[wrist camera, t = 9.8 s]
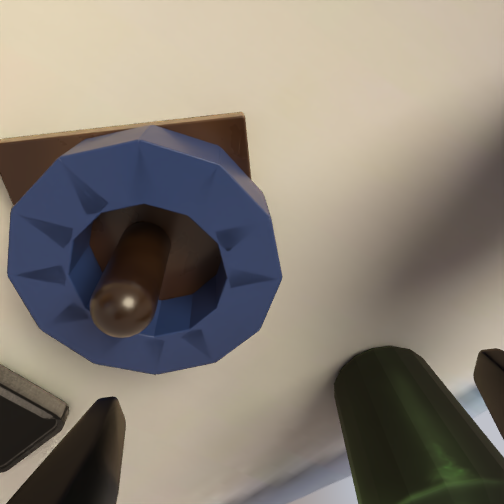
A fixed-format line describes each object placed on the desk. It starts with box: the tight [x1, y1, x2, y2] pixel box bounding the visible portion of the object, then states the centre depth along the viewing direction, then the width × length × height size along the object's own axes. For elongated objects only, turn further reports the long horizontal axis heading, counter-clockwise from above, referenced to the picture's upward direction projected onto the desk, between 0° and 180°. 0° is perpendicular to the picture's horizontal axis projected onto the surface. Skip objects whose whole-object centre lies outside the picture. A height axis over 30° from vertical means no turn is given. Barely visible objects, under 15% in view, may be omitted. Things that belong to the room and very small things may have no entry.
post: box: [0, 112, 251, 338], centre depth 17 cm, size 11×11×8 cm
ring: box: [7, 125, 282, 375], centre depth 18 cm, size 11×11×3 cm
